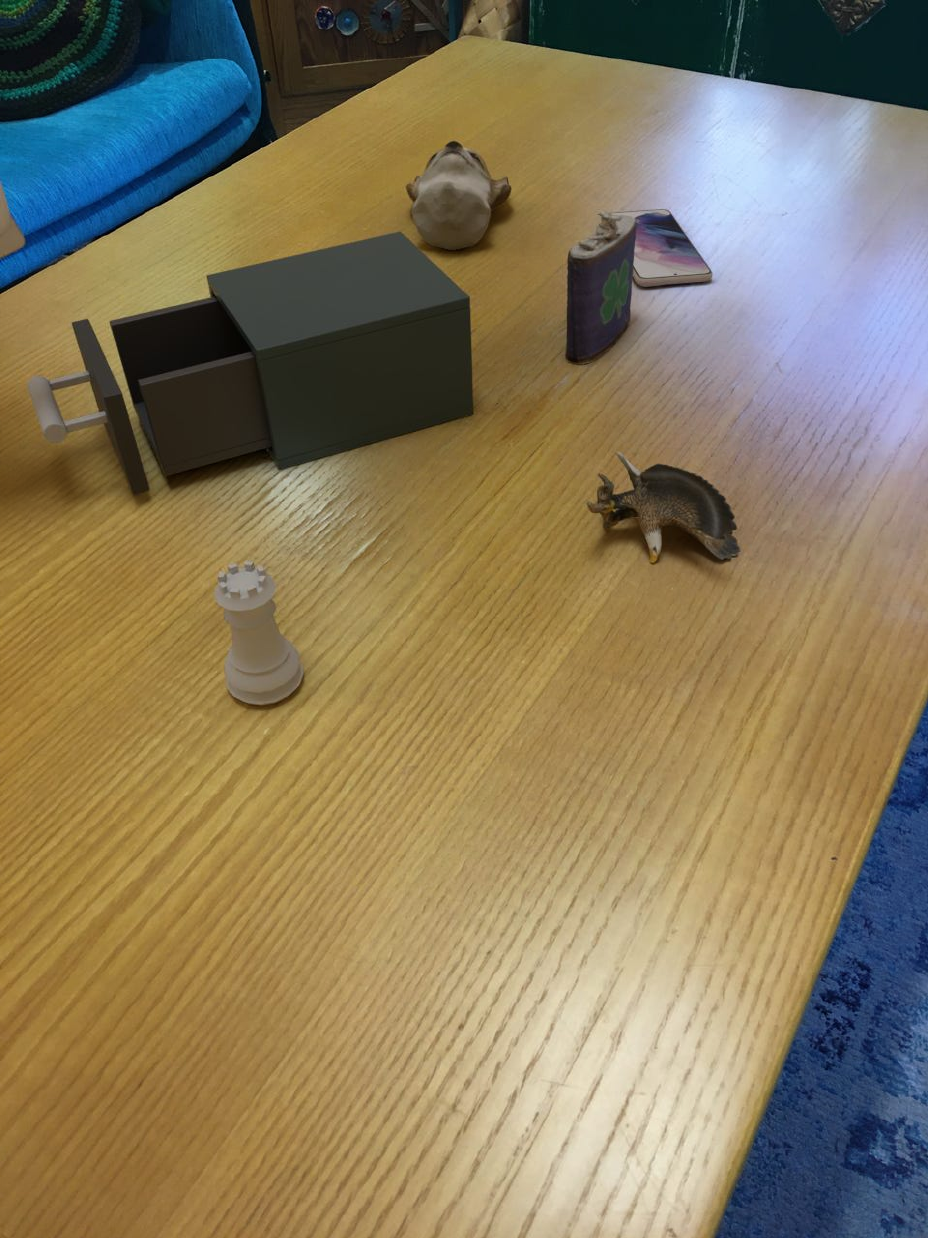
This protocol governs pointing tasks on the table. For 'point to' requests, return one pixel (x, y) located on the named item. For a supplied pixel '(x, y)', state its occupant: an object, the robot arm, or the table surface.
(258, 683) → the rook chess piece
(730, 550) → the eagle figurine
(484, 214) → the ceramic sculpture
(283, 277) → the cabinet
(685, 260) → the smartphone
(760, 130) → the table surface
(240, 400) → the drawer
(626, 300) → the flask
